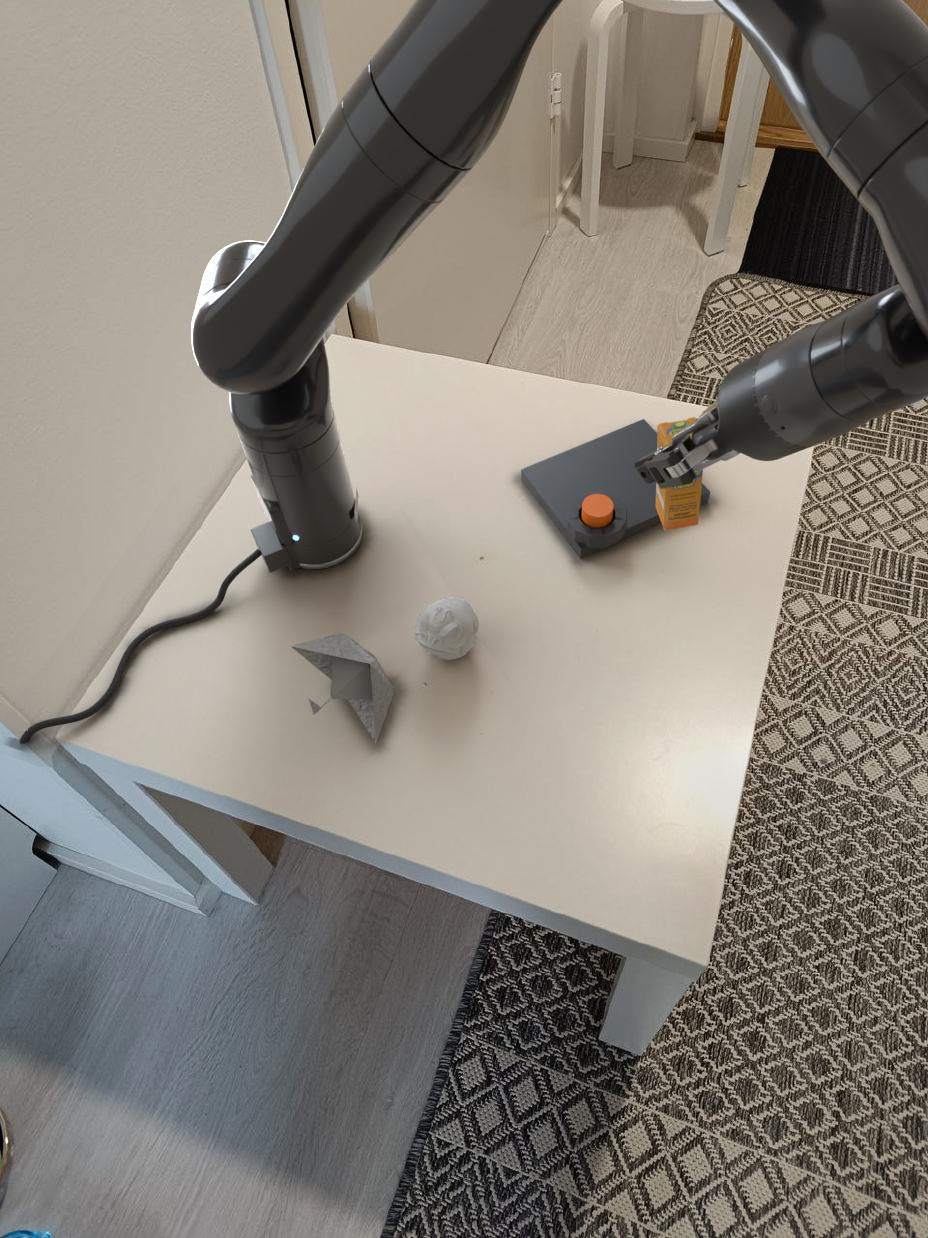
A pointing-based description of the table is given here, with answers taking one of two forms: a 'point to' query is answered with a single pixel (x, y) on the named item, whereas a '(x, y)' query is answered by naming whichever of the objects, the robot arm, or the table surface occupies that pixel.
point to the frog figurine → (447, 628)
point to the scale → (599, 487)
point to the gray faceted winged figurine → (351, 678)
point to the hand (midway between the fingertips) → (661, 456)
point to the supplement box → (677, 487)
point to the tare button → (597, 510)
